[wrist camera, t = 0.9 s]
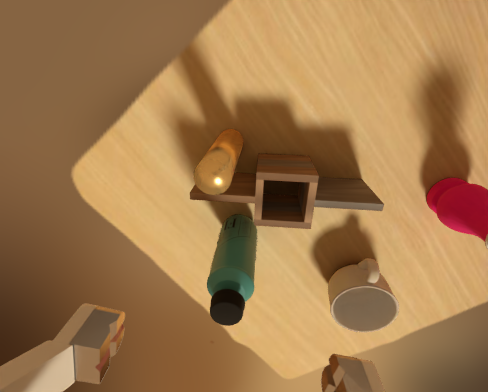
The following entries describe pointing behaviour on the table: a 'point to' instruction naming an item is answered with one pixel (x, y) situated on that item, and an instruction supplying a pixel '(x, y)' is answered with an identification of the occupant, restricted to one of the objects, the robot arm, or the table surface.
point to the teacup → (362, 298)
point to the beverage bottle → (233, 270)
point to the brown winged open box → (292, 206)
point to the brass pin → (219, 163)
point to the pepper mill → (461, 206)
